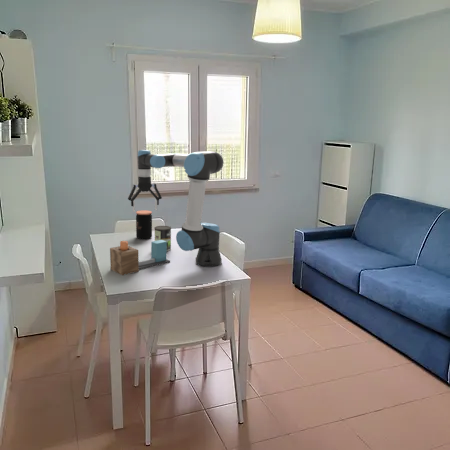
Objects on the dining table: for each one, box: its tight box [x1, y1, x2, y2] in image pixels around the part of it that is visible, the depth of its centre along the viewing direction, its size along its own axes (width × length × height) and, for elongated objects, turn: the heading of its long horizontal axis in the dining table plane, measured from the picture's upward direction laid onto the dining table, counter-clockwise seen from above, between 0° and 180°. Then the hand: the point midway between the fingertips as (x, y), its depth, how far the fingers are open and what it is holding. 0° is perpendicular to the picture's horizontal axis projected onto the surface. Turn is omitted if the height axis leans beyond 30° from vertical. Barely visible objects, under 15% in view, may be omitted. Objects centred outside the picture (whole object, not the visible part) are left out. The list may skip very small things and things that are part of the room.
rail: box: [139, 258, 171, 271], centre depth 251 cm, size 8×22×3 cm, turn 133°
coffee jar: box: [135, 209, 153, 240], centre depth 304 cm, size 11×11×18 cm
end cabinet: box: [109, 245, 140, 276], centre depth 239 cm, size 12×11×12 cm
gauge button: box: [119, 240, 129, 251], centre depth 238 cm, size 4×4×6 cm
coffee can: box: [154, 225, 172, 252], centre depth 280 cm, size 10×10×14 cm
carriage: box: [150, 240, 168, 262], centre depth 254 cm, size 5×7×11 cm
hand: (145, 211), depth 271 cm, fingers open, 13 cm apart
